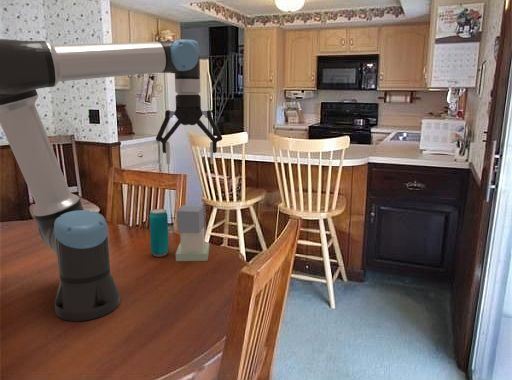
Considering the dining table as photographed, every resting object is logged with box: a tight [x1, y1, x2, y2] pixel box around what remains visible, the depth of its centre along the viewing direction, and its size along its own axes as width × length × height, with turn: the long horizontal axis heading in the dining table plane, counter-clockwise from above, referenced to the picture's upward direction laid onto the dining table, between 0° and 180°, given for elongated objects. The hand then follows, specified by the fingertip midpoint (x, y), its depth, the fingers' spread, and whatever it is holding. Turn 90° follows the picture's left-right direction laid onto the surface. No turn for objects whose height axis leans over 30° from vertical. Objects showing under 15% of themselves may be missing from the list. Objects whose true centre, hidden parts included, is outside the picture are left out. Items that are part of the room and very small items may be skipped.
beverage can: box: [148, 208, 170, 258], centre depth 138 cm, size 6×6×15 cm
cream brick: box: [179, 226, 206, 252], centre depth 138 cm, size 7×7×7 cm
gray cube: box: [176, 204, 205, 234], centre depth 134 cm, size 7×7×7 cm
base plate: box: [175, 242, 210, 262], centre depth 139 cm, size 10×10×2 cm
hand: (190, 163), depth 132 cm, fingers open, 13 cm apart
